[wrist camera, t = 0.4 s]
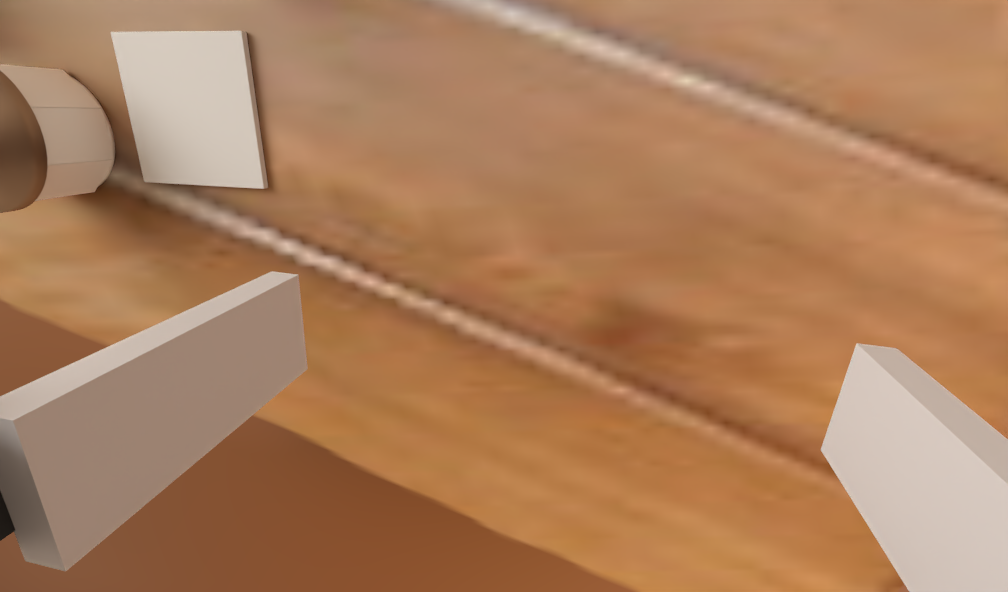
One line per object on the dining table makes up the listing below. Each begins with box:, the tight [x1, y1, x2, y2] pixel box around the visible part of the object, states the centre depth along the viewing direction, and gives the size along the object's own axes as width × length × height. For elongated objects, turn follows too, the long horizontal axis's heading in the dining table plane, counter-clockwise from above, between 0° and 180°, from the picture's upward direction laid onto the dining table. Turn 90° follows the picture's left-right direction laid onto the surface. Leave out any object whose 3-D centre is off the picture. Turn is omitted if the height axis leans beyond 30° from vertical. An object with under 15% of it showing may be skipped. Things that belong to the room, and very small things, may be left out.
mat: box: [111, 31, 268, 189], centre depth 42 cm, size 12×12×1 cm
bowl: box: [0, 64, 115, 201], centre depth 42 cm, size 10×10×6 cm
